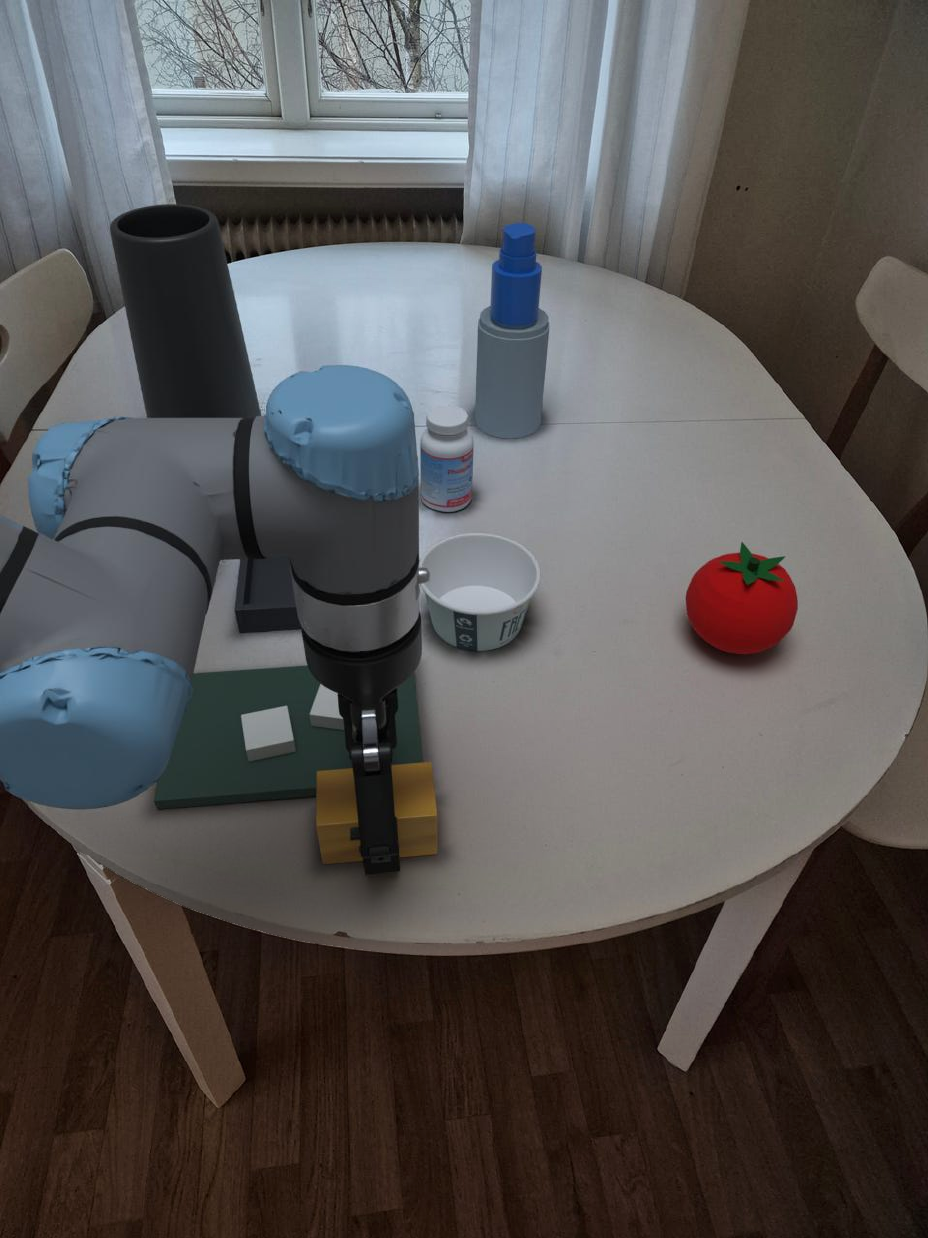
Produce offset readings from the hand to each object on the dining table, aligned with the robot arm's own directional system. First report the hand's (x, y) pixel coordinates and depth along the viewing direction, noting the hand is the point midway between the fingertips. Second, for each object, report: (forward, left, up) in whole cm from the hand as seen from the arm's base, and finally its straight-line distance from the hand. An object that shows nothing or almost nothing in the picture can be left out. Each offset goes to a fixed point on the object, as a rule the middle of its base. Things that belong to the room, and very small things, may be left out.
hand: (379, 811), depth 69 cm
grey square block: (-9, +8, 0) cm, 12 cm away
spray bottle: (+20, +61, -2) cm, 64 cm away
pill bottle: (+10, +44, -2) cm, 45 cm away
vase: (-18, +54, -2) cm, 57 cm away
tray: (-8, +30, -1) cm, 31 cm away
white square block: (-3, +11, 0) cm, 11 cm away
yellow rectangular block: (0, -1, -1) cm, 2 cm away
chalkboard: (-7, +10, -1) cm, 12 cm away
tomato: (+36, +18, -2) cm, 40 cm away
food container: (+11, +23, -2) cm, 25 cm away
